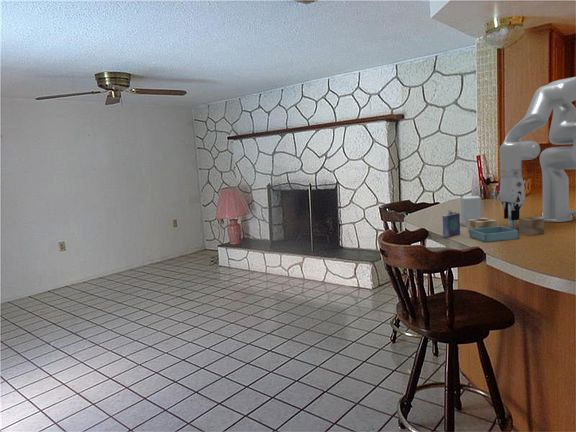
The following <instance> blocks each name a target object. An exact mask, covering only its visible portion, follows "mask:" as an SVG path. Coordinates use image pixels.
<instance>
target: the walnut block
mask: <svg viewBox="0 0 576 432" xmlns="http://www.w3.org/2000/svg"><path fill="white" fill-rule="evenodd" d="M518 231H519V234H520V235H526V236H528V237H529V236H530V237H531V236H539V235H545V221H544V219H543V218H539V217H536V216H528V217H519V220H518Z"/></svg>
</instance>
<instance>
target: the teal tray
mask: <svg viewBox="0 0 576 432" xmlns="http://www.w3.org/2000/svg"><path fill="white" fill-rule="evenodd" d="M469 238H471V239H473V240H478V241H480V240H481V241H480V242H483V241H484V242H483V243H491V242H492V241H494V242H501V241H500V240H503V241H511V240H519V239H520V233H519V229H516V230H514V229H510V228H508V227H507V226H502V225H499V226H498V225H497V227H488V228H479V229H470V230H469Z"/></svg>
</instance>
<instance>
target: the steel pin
mask: <svg viewBox="0 0 576 432" xmlns="http://www.w3.org/2000/svg"><path fill="white" fill-rule="evenodd" d="M511 210H512V205H511V203H509V202H508V219H507V226H508V227H507V228H510V229H514V230H517V229H516V220H511Z"/></svg>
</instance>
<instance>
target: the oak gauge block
mask: <svg viewBox="0 0 576 432" xmlns="http://www.w3.org/2000/svg"><path fill="white" fill-rule="evenodd" d="M497 226H498V220H497V219H493V218H489V217H482V218H479V219H469V220H468V226H467V232H469V230H470V229H479V228H488V227H497Z"/></svg>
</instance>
